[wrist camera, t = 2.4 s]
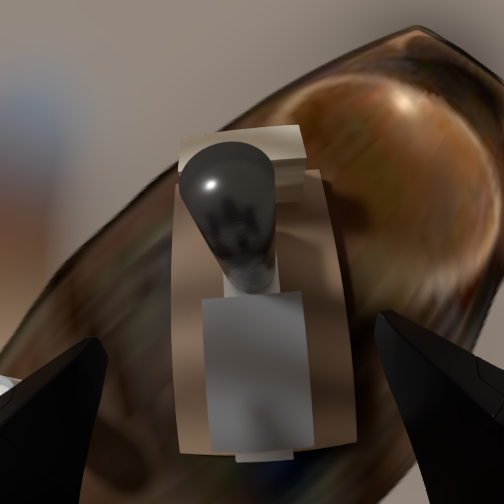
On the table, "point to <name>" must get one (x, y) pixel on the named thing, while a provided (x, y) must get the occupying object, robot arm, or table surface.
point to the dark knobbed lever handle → (237, 225)
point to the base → (294, 275)
